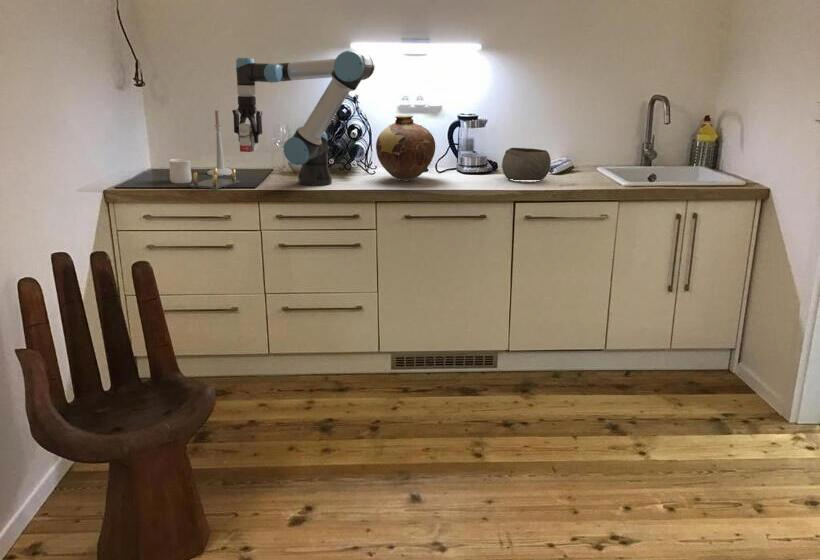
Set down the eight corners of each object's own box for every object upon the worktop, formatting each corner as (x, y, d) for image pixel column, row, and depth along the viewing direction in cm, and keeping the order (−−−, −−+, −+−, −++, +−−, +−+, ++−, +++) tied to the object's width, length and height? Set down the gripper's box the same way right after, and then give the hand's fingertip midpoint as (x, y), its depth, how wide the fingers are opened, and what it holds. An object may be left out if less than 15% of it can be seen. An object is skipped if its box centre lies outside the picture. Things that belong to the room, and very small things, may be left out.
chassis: (240, 182, 311) (239, 169, 309) (217, 189, 295) (216, 175, 293) (213, 180, 315) (212, 167, 313) (189, 186, 299) (188, 172, 297)
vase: (416, 188, 307) (418, 119, 298) (364, 181, 320) (364, 115, 311) (444, 179, 331) (447, 115, 322) (395, 174, 343) (396, 111, 334)
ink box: (250, 152, 300) (248, 124, 296) (239, 151, 301) (238, 124, 297) (258, 150, 308) (257, 123, 304) (248, 149, 309) (246, 122, 305)
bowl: (559, 182, 331) (562, 150, 327) (526, 186, 318) (529, 153, 313) (523, 175, 349) (525, 145, 344) (491, 179, 335) (493, 147, 330)
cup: (179, 184, 304) (177, 162, 301) (164, 182, 309) (162, 160, 306) (196, 181, 312) (195, 159, 309) (181, 179, 317) (180, 157, 314)
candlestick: (230, 176, 327) (226, 110, 318) (203, 175, 328) (199, 110, 319) (237, 171, 340) (234, 108, 330) (212, 171, 340) (207, 108, 331)
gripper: (269, 96, 298) (271, 150, 305) (233, 94, 303) (235, 147, 311) (260, 96, 291) (262, 152, 298) (223, 94, 297) (226, 149, 304)
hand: (248, 150), depth 304 cm, fingers closed on ink box, 5 cm apart
